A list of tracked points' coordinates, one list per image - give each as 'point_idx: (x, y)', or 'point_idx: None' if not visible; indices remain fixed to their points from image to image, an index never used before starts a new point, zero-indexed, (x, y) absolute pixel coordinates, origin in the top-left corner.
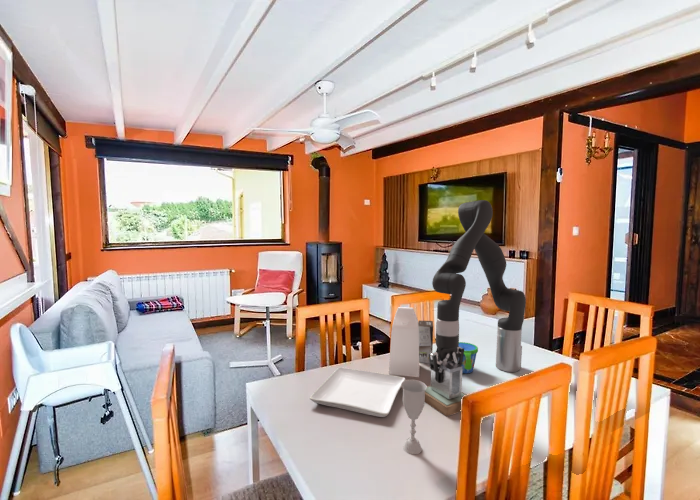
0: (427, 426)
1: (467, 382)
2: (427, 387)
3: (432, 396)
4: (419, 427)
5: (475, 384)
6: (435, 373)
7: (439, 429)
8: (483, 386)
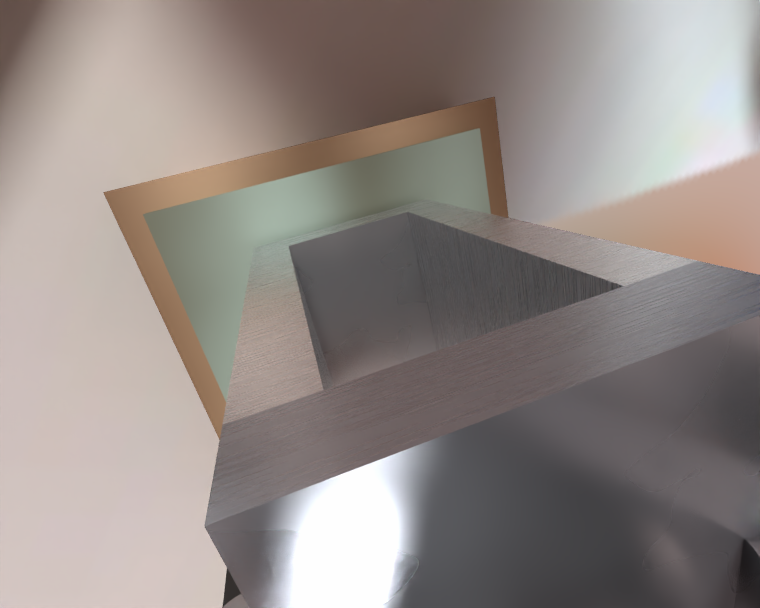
0: (82, 582)
1: (710, 40)
2: (235, 195)
3: (217, 379)
4: (13, 594)
5: (731, 99)
6: (229, 578)
7: (158, 605)
8: (749, 151)
